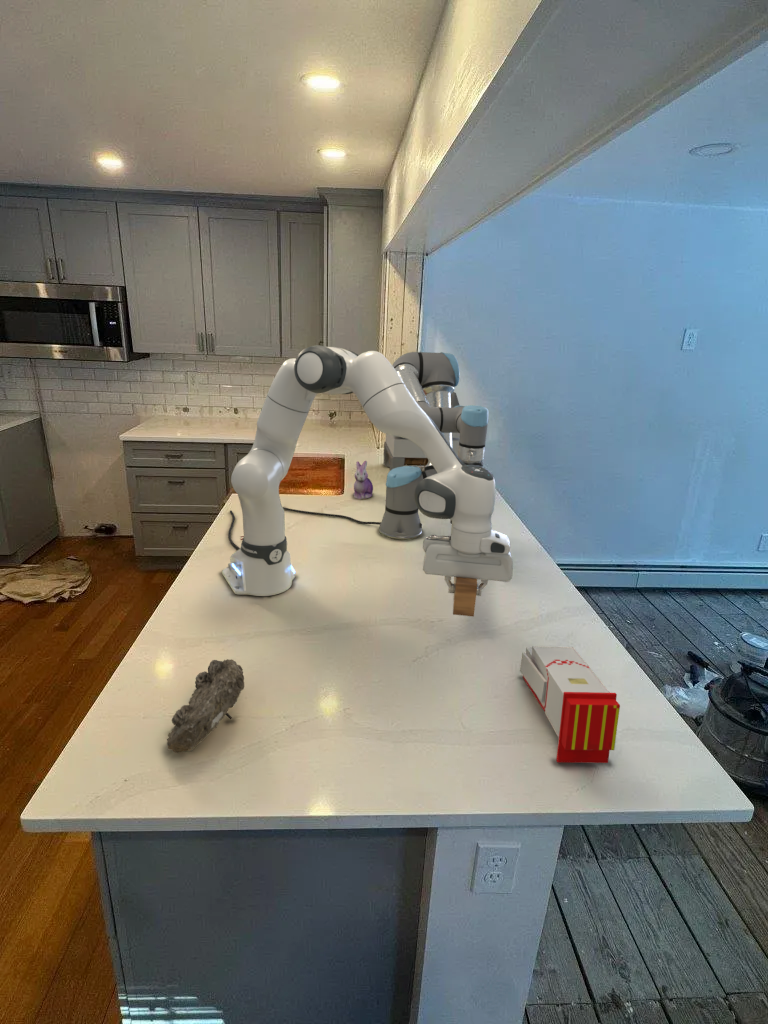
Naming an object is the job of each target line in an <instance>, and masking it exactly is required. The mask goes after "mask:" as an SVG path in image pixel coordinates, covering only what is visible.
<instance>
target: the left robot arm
mask: <svg viewBox="0 0 768 1024" xmlns="http://www.w3.org/2000/svg"><path fill="white" fill-rule="evenodd" d="M392 365H393V364H392V363H391V362H390V361H389V359H388V358H387V357H386V356H385V355H384V354H383V353H382V352H379V351H377V350H368V351H364V352H362V353H360V354H359V353H356V352H355V351H352V350H349V349H348V350H347V349H345V348H342V347H338V346H325V345H321V344H320V345H319V344H317V345H311V346H308V347H305V348H303V349H302V350H301V351H300V352H299V353H298V354H297V355H296V358H294V357H293V358H289V359H288V358H287V359H286V360H284V361H283V363H282V364H281V366H280V367H279V369H278V371H277V372H276V374H275V376H274V377H273V380H272V382H271V384H270V386H269V389H268V391H267V394H266V397H265V399H264V402H263V405H262V406H261V410H260V414H259V415H258V418H257V422H256V430H255V436H254V441H253V444H252V446H251V449H250V450H249V452H248V453H247V454H246V455H245V456H244V457H242V458H241V459H239V460H238V462H237V463H236V465H234V468H233V469H232V474H231V477H230V482H231V487H232V489H233V490H234V492H235V493H236V495H237V497H238V500H239V504H240V509H241V513H242V530H243V535H240V541H241V543H240V547H239V546H238V545H237V544H236V543H234V541H233V540H232V530H233V527H234V524H235V521H236V517H235V514H234V512H233V510H231V509H230V510H229V513H230V515H231V517H232V520H231V524H230V526H229V529H228V532H227V539H228V541H229V543H230V544H231V546H232V547H233V548H234V549H236V551H235V552H233V553H232V554H231V555H230V558H229V562H228V564H227V567H225V568H223V569H222V570H221V571H222V572H221V574H222V576H223V577H224V579H225V581H226V582H227V585H229V587H230V588H231V590H232V592H233V593H234V594H235V595H238V596H239V595H242V596H243V595H249V596H256V597H269V596H275V595H279V594H282V593H285V592H286V591H288V590H289V589H290V588H291V587H292V584H293V580H295V578H296V570H295V569H294V567H293V565H292V558H291V552H290V551H288V539H287V536H286V523H285V522H286V521H285V520H286V519H285V518H286V517H285V515H286V514H285V510H284V509H283V507H284V506H283V505H282V502H281V497H280V484H281V482H282V481H283V480H284V478H286V477H287V474H288V473H289V469H290V466H291V463H292V460H293V458H294V455H295V452H296V448H297V444H298V440H299V438H300V436H301V432H302V431H303V428H304V425H305V422H306V420H307V418H308V416H309V412H310V410H311V407H312V405H313V402H314V400H315V398H316V396H317V395H319V394H322V395H330V396H335V395H351V394H354V395H355V397H356V398H357V400H358V402H359V404H360V405H361V407H362V409H363V411H364V412H365V414H366V416H367V418H368V420H369V421H370V423H371V424H372V425H373V426H374V427H375V429H376V430H377V431H379V432H380V433H383V434H385V435H386V434H388V435H393V436H398V437H402V438H405V439H408V440H410V441H412V442H414V443H415V444H417V445H418V446H419V447H420V448H421V450H422V451H423V452H424V454H425V455H426V457H427V458H428V460H429V461H430V463H431V464H432V465H433V467H434V468H435V470H436V471H437V473H438V474H434V475H432V476H429V477H427V478H425V479H423V480H421V481H420V482H419V483H418V484H417V486H416V488H415V494H414V497H415V503H416V505H417V507H418V511H419V512H420V513H421V514H422V515H424V516H425V517H427V518H432V519H435V520H436V519H437V520H451V521H452V524H451V528H450V535H437V534H430V535H428V536H426V537H425V538H424V539H423V542H422V549H423V552H424V558H423V563H422V572H424V574H425V575H430V576H431V575H432V576H441V577H444V581H445V583H446V585H447V588H448V591H447V593H448V594H454V593H455V584H454V583H452V581H451V580H452V577H453V578H454V577H461V578H472V579H477V580H480V581H481V582H480V584H479V585H477V593H476V597H482V592H483V590H484V589H485V588H486V586H487V585H488V581H493V582H501V583H502V582H503V583H509V582H510V581H511V580H512V579H513V574H514V572H513V571H514V563H513V557H512V556H513V555H512V552H511V540H510V538H509V537H508V535H507V534H504V533H502V532H499V531H496V530H495V529H493V524H492V515H493V513H494V511H495V505H496V504H495V503H496V479H495V477H494V474H493V473H492V472H491V471H490V469H489V470H488V469H487V468H486V467H484V466H483V467H481V466H477V465H466V464H465V463H464V462H463V461H462V460H461V459H460V458H459V457H458V456H457V454H456V453H455V451H454V450H453V449H452V447H451V446H450V444H449V443H448V441H447V440H446V439H445V437H444V436H443V434H442V433H441V431H440V430H439V429H438V427H437V426H436V424H435V423H434V422H433V420H432V419H431V418H430V417H429V416H428V415H427V414H426V413H425V412H424V411H423V410H422V409H421V407H420V406H419V405H418V404H417V402H416V401H415V400H414V398H413V397H412V395H411V394H410V392H409V391H408V389H407V387H406V386H405V384H404V382H403V381H402V379H401V377H400V376H399V374H398V373H397V371H396V370H395V369H394V367H393V366H392Z"/></svg>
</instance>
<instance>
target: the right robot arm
mask: <svg viewBox="0 0 768 1024" xmlns="http://www.w3.org/2000/svg"><path fill="white" fill-rule="evenodd" d="M391 365H392V366H393V367H394V369H395V370H396V371H397V373H398V374H399V376H400V377H401V379H402V381H403V382H404V384H405V386H406V387H407V389H408V391H409V392H410V394H411V395H412V397H413V398H414V400H415V401H416V402H417V404H418V405H419V406H420V407H421V409H422V410H423V411H424V412H425V413H426V414H427V415H428V416H429V417H430V418H431V419H432V420H433V422H434V423H435V424H436V426H437V427H438V429H439V430H440V431H441V433H442V434H443V436H444V437H445V439H446V440H447V441H448V443H449V444H450V446H451V447H452V433H460V439H459V449H458V457H459V458H460V459H461V460H462V461H463V462H464V463H465V464H466V465H477V466H481V467H483V468H484V459H485V453H486V452H485V451H486V441H487V435H488V433H487V432H488V426H489V425H488V424H489V409H488V408H487V407H486V406H481V405H460V406H455V407H453V408H452V407H451V399H450V395H451V393H452V392H453V391H454V392H455V388H456V387H457V386H459V383H460V376H461V375H460V374H461V373H460V372H461V371H460V366H459V362H458V358H457V357H456V355H455V354H453V353H449V352H448V353H447V352H442V351H441V352H427V351H424V352H423V351H410V352H407V353H404V354H401V355H400V356H399V357H398V358H396V359H395V360H394V362H393V363H392V364H391ZM423 467H424V468H423V470H424V471H422V469H421V467H420V466H407V465H404V466H402V467H397V468H394V469H392V470H390V469H389V470H388V473H387V475H386V480H385V504H384V505H385V507H384V508H385V509H384V513H383V515H382V519H381V521H362V520H358V519H355V518H353V517H351V516H348V515H343V514H334V513H325V512H317V511H307V510H302V509H301V510H300V509H293V508H289V507H285V506H282V507H283V509H284V511H288V512H293V513H300V514H306V515H314V516H324V517H334V518H341V519H346V520H350V521H352V522H355V523H357V524H361V525H377V526H378V525H379V527H378V533H379V534H380V535H381V536H382V537H385V538H387V539H389V540H395V541H410V540H415V539H418V538H420V537H421V536H422V535H423V523H421V518H420V515H419V509H418V507H417V505H416V503H415V497H414V494H415V488H416V486H417V484H418V483H419V482H420V481H421V480H423V479H425V478H427V477H429V476H432V475H434V474H438V473H437V471H436V470H435V468H434V467H433V465H432V464H431V463H430V461H429V460H428V463H427V465H426V466H423ZM449 520H450V519H449ZM449 523H450V524H451V525H452V521H451V520H450V521H449Z"/></svg>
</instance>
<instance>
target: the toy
mask: <svg viewBox="0 0 768 1024" xmlns="http://www.w3.org/2000/svg"><path fill="white" fill-rule="evenodd" d="M525 649H526V650H525V652H522V653H521V660H520V666H519V672H520V673H521V675H522V679H523V680H524V682H525V684H526V686H527V687H528V689H529V690H530V692H531V693H532V695H533V697H534V698H535V700H536V701H537V703H538V705H540V707H541V709H542V710H543V712H544V713H545V716H546V718H547V720H548V721H549V723H550V725H551V727H552V729H553V730H554V732H555V734H556V736H557V737H558V742H557V751H556V759H555V760H556V762H557V763H575V764H576V763H577V764H578V763H579V764H581V763H583V764H585V763H586V764H592V763H593V764H608V763H609V756H610V751H615V747H616V739H617V731H618V726H619V725H618V723H619V718H620V717H619V716H620V711H621V710H620V709H621V705H620V703H619V702H618V701H617V696H618V694H617V693H616V692H610V691H609V690H608V688H607V687H606V686H605V685H604V683H603V682H602V681H601V679H600V678H599V677H598V676H597V675H596V674H595V672H594V671H593V670H592V669H591V668H590V665H588V664H587V662H586V661H585V660H584V659H583V657H582V656H581V654H579V652H578V651H577V650H576V649H575V647H574V646H545V645H544V646H543V645H542V646H540V645H535V646H534V645H532V646H531V647H530V646H526V648H525Z"/></svg>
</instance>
